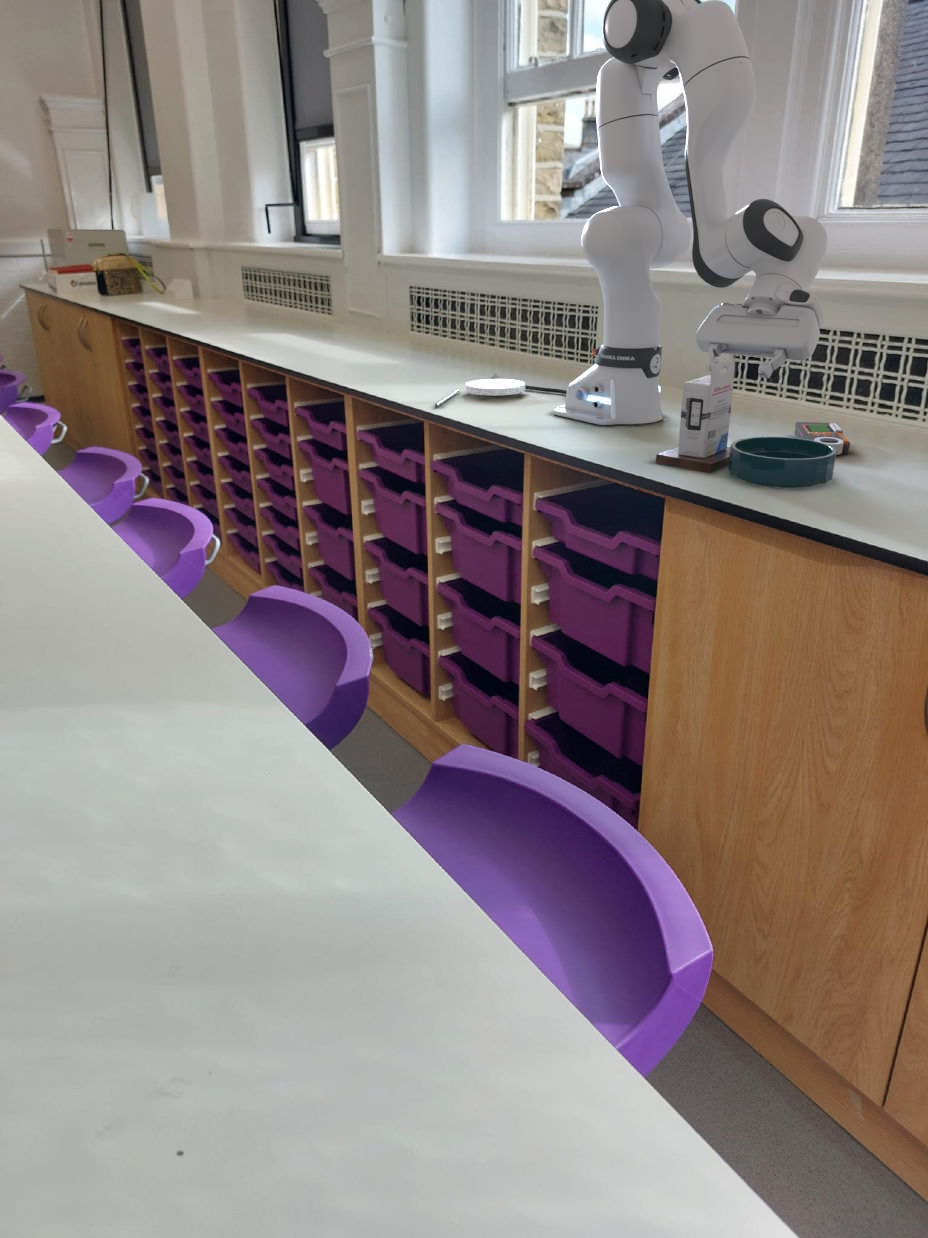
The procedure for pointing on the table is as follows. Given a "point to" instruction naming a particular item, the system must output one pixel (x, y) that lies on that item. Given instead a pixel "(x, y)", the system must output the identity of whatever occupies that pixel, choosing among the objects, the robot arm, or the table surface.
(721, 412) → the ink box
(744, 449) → the bowl
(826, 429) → the electronic device
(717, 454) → the walnut board
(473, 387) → the plastic lid
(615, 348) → the robot arm
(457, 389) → the rod
